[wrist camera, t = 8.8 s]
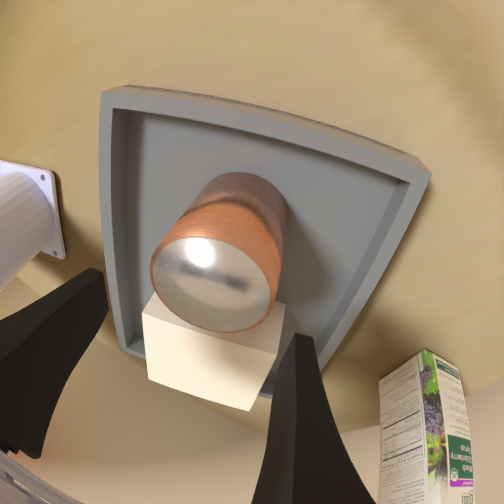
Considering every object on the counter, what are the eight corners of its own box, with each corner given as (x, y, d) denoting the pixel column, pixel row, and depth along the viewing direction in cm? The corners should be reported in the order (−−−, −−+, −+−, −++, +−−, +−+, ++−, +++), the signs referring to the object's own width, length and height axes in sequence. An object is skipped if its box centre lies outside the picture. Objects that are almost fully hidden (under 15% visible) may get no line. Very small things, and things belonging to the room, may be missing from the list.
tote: (131, 329, 27) (119, 349, 25) (127, 84, 15) (101, 91, 13) (299, 381, 26) (296, 404, 24) (416, 157, 14) (431, 173, 12)
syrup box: (459, 366, 22) (480, 516, 10) (413, 396, 25) (417, 533, 14) (424, 346, 21) (442, 524, 9) (374, 380, 25) (371, 537, 13)
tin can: (192, 242, 19) (150, 313, 14) (202, 161, 16) (148, 217, 11) (276, 265, 19) (259, 346, 14) (300, 186, 15) (291, 255, 11)
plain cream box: (167, 339, 25) (148, 379, 22) (169, 269, 20) (141, 312, 17) (259, 368, 25) (248, 411, 21) (286, 304, 20) (277, 355, 17)
